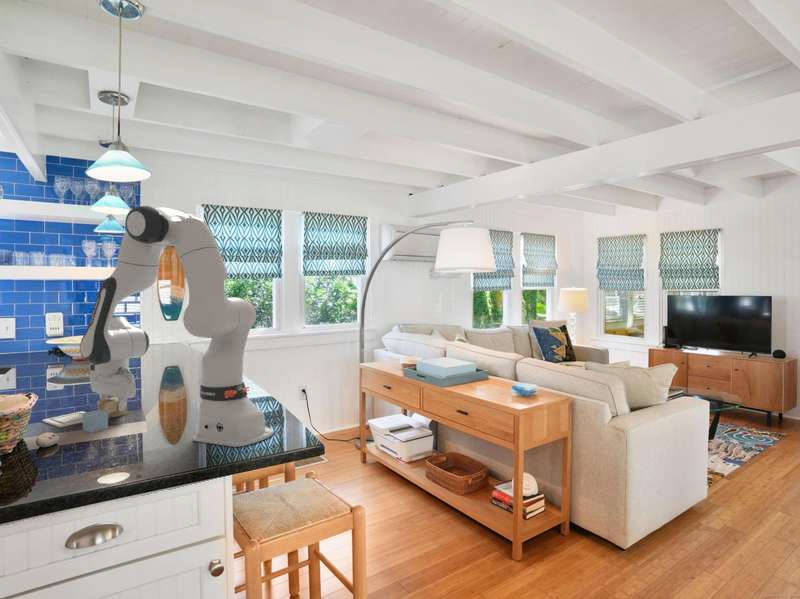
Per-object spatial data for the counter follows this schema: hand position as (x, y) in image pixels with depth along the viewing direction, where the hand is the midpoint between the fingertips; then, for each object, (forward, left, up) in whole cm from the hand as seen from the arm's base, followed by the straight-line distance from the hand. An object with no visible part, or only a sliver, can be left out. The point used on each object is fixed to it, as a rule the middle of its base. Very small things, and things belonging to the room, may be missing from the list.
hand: (113, 408), depth 149 cm
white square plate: (+5, +10, -2) cm, 11 cm away
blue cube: (-11, +11, -2) cm, 16 cm away
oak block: (0, 0, -2) cm, 2 cm away
